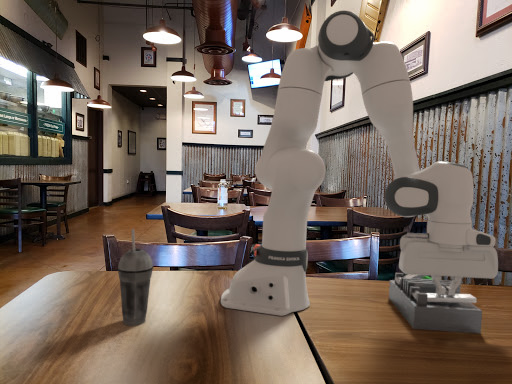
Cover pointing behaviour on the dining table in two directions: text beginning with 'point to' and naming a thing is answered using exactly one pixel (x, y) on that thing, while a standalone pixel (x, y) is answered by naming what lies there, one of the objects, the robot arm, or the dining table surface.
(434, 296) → the strap near
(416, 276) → the strap far
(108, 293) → the dining table surface
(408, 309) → the heatsink block
